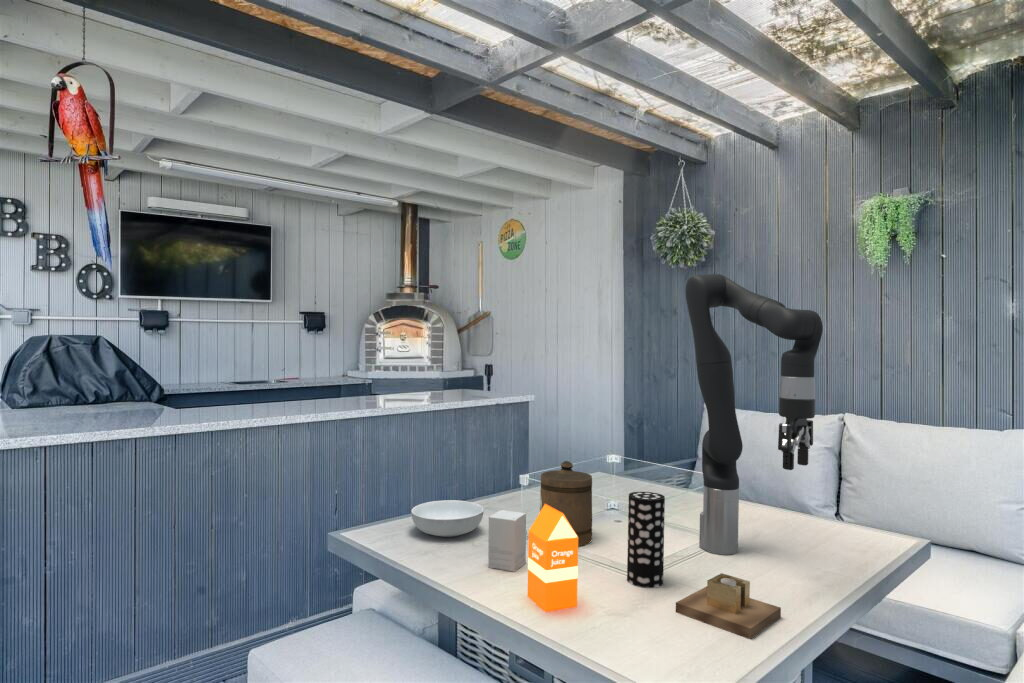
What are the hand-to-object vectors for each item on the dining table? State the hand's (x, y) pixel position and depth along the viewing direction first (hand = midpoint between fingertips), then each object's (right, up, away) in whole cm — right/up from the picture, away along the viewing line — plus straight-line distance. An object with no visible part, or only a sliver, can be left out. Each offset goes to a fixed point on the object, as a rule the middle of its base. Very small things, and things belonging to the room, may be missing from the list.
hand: (795, 467), depth 144 cm
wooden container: (-50, -28, +34) cm, 66 cm away
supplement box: (-66, -27, +12) cm, 73 cm away
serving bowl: (-84, -27, +39) cm, 96 cm away
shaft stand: (-20, -28, -14) cm, 37 cm away
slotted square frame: (-20, -26, -14) cm, 36 cm away
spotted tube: (-34, -28, +4) cm, 44 cm away
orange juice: (-56, -27, -9) cm, 63 cm away
